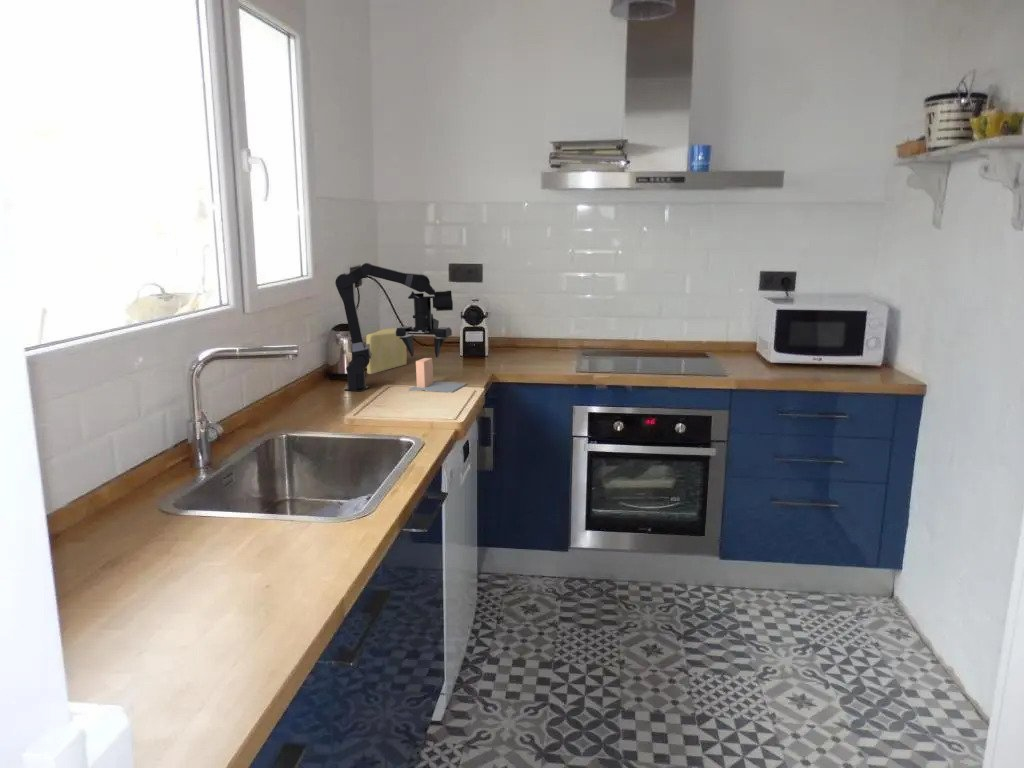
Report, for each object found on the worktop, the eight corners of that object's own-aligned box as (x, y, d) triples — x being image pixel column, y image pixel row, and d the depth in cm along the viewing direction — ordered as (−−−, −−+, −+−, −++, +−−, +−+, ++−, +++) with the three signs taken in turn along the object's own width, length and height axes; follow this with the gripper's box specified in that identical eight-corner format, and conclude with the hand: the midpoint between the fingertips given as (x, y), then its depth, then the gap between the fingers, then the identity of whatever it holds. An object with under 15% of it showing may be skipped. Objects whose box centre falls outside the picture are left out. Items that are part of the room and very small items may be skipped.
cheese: (380, 375, 283) (378, 335, 280) (357, 373, 287) (355, 334, 284) (408, 365, 304) (406, 328, 301) (386, 363, 307) (385, 327, 304)
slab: (424, 387, 258) (423, 361, 256) (416, 387, 259) (415, 361, 257) (433, 383, 264) (432, 358, 262) (425, 383, 265) (424, 357, 263)
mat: (452, 392, 251) (452, 391, 251) (408, 390, 256) (408, 389, 256) (467, 384, 264) (467, 383, 264) (425, 382, 269) (425, 381, 269)
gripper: (457, 309, 261) (458, 353, 264) (408, 308, 267) (410, 352, 270) (444, 313, 250) (446, 359, 254) (393, 312, 256) (396, 357, 260)
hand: (424, 356), depth 259 cm, fingers open, 9 cm apart
